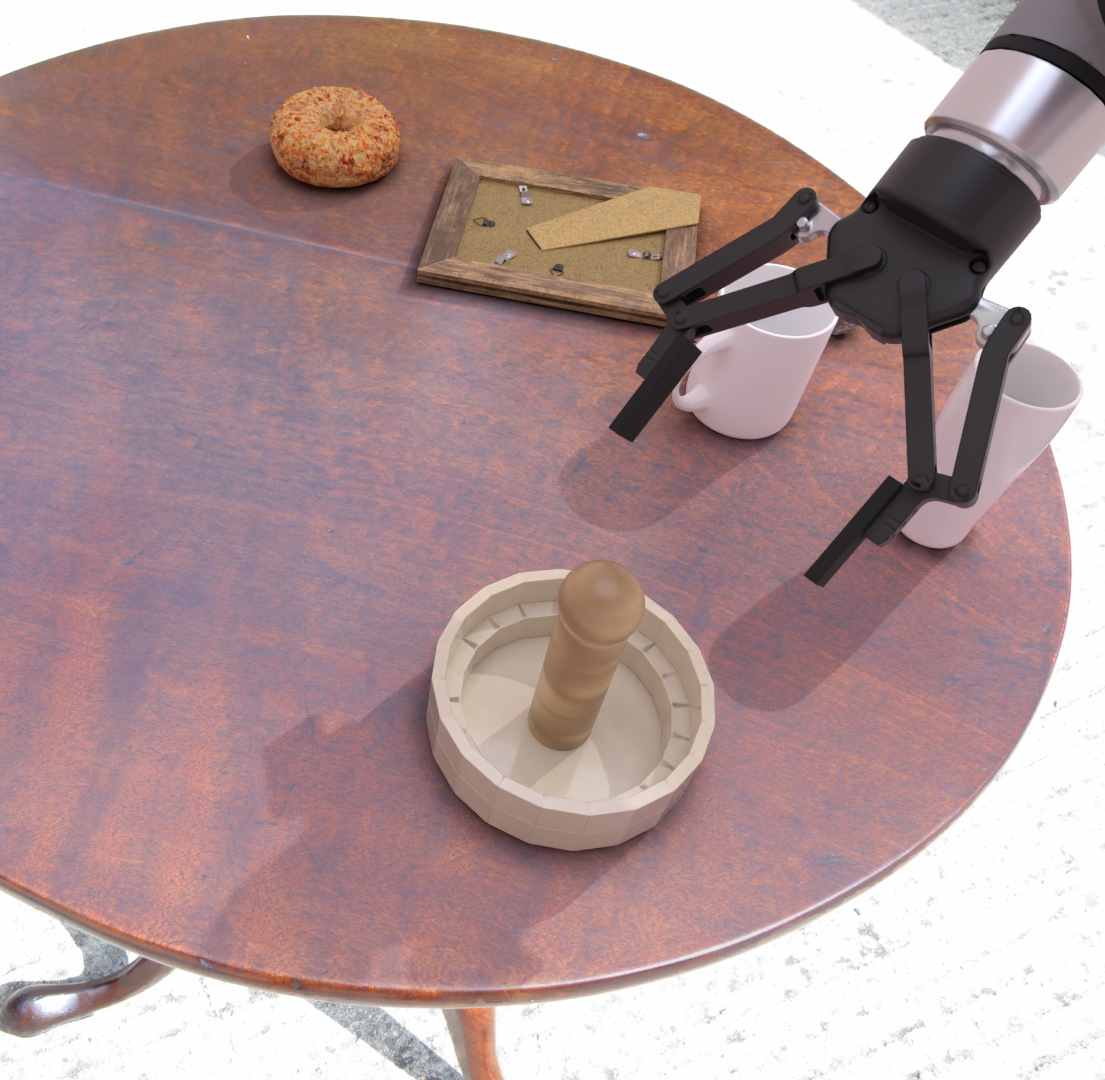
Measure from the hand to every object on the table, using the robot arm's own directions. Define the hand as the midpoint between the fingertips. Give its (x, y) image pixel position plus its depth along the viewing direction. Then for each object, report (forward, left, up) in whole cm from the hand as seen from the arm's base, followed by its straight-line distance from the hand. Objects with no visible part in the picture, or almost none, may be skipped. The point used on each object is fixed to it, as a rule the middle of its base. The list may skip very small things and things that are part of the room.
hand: (711, 505), depth 60 cm
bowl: (+3, +8, -15) cm, 17 cm away
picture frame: (+21, -39, -15) cm, 47 cm away
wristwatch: (-3, -41, -15) cm, 44 cm away
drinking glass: (-15, -21, -15) cm, 30 cm away
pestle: (+3, +8, -14) cm, 17 cm away
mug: (+2, -25, -15) cm, 29 cm away
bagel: (+46, -41, -15) cm, 64 cm away
